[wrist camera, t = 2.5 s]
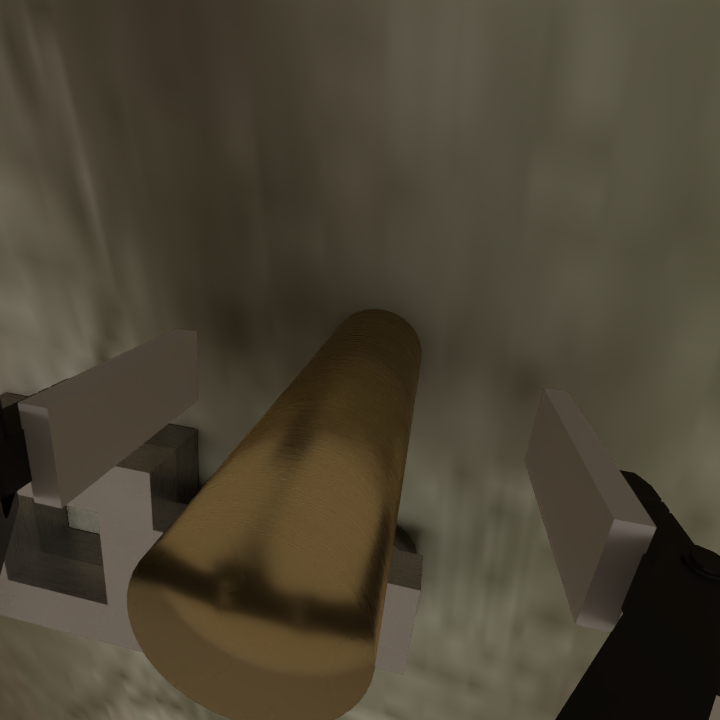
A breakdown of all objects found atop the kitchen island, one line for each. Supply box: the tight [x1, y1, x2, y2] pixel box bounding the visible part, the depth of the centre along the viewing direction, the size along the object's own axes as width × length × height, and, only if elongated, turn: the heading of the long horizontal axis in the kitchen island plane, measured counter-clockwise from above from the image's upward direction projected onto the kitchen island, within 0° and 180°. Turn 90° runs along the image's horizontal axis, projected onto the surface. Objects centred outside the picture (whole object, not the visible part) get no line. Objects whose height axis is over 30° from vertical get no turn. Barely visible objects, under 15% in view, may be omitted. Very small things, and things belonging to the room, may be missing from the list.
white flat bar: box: [0, 393, 423, 675], centre depth 24 cm, size 11×35×4 cm, turn 84°
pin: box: [127, 309, 422, 720], centre depth 13 cm, size 4×4×14 cm
